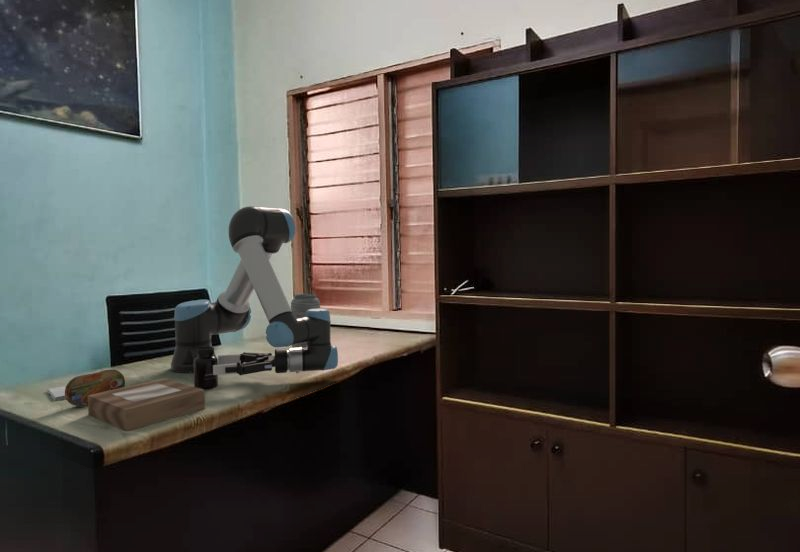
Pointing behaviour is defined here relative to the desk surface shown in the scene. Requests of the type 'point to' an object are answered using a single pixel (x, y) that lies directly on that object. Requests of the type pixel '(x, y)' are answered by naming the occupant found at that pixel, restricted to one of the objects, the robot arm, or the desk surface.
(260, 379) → the desk surface
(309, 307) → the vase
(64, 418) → the desk surface
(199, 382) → the supplement bottle
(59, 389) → the hard drive
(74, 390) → the tin
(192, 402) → the plinth
